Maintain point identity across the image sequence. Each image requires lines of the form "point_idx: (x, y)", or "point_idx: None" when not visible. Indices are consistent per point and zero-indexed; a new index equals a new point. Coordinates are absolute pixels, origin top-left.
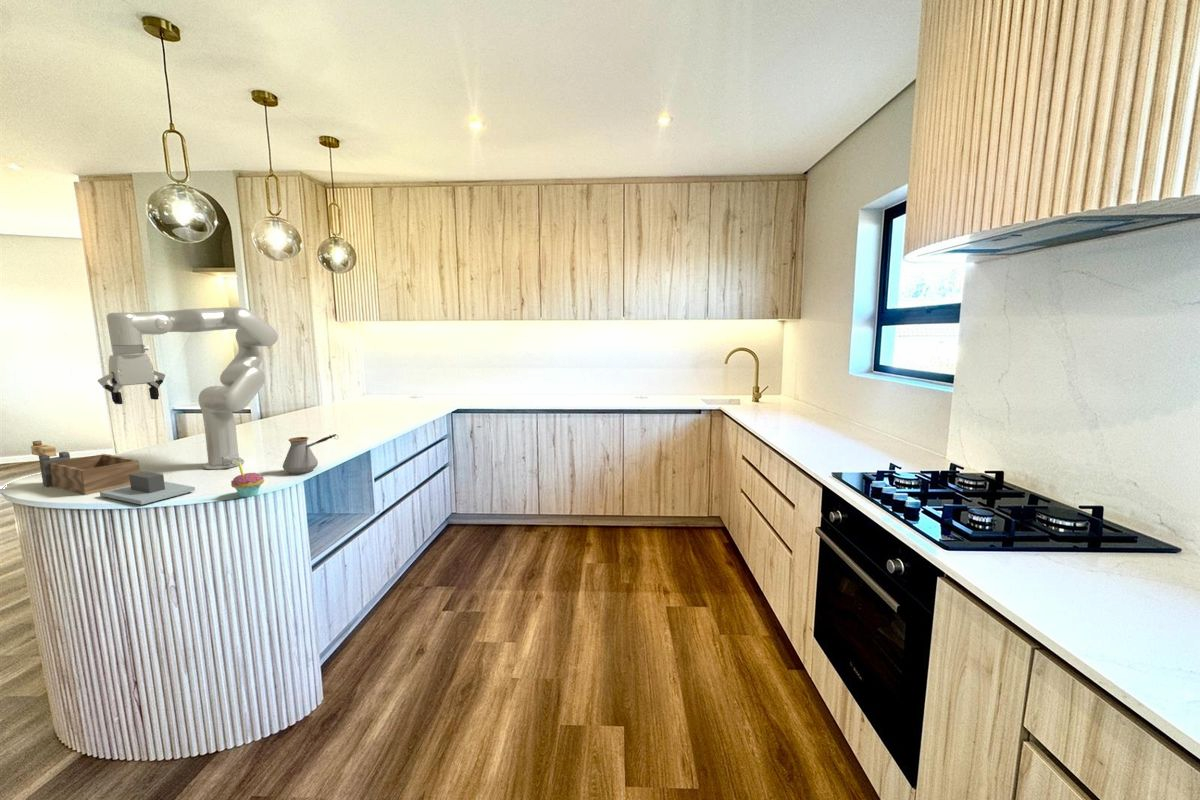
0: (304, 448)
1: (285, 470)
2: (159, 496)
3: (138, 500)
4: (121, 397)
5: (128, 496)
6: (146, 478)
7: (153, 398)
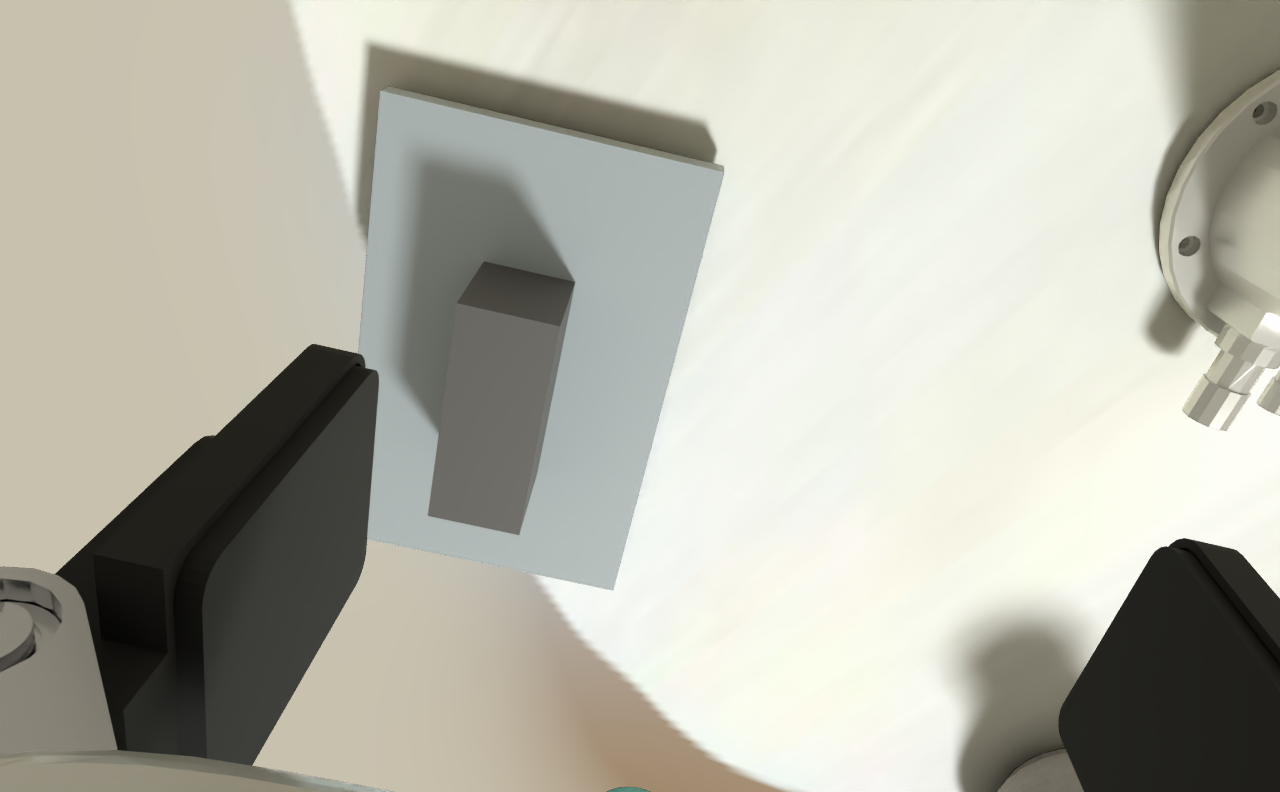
0: None
1: (1003, 785)
2: (432, 550)
3: None
4: (291, 687)
5: None
6: (431, 498)
7: (1106, 659)
